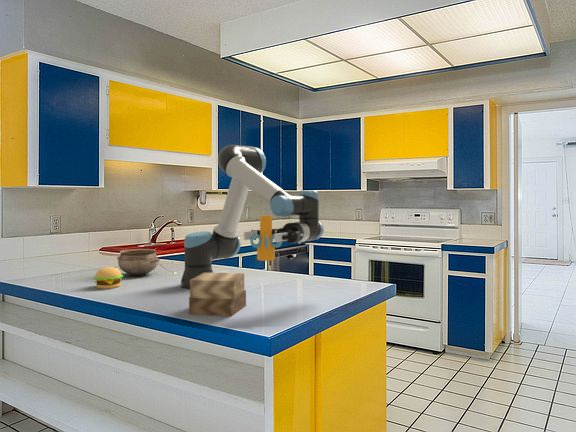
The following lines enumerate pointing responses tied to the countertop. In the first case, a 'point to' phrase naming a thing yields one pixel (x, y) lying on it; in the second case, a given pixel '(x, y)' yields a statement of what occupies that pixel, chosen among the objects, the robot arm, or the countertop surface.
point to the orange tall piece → (265, 240)
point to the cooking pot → (138, 261)
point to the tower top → (217, 285)
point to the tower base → (217, 305)
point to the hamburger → (108, 278)
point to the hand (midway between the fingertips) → (259, 237)
